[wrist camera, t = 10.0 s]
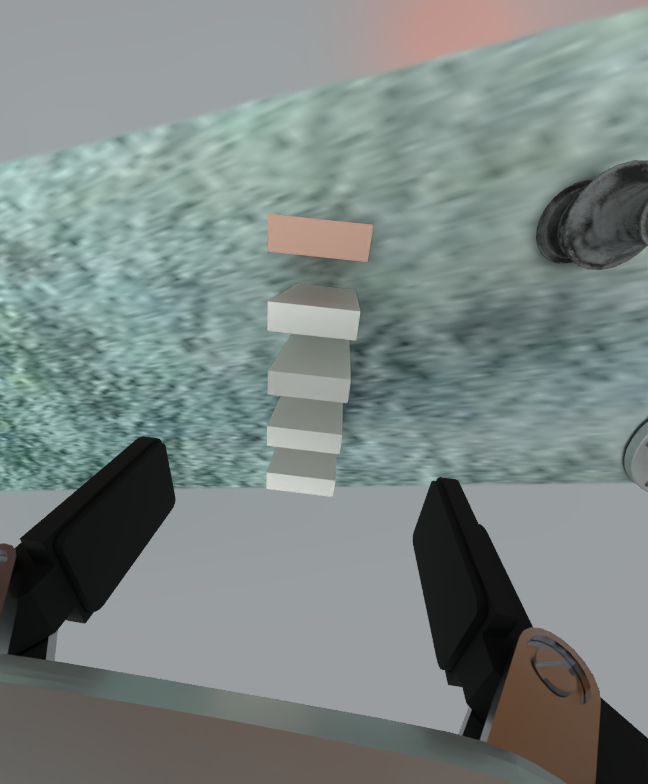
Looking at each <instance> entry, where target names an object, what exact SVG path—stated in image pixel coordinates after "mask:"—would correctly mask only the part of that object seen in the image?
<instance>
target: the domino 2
mask: <svg viewBox="0 0 648 784" xmlns="http://www.w3.org/2000/svg"><path fill="white" fill-rule="evenodd" d="M350 383H351V369H350V344H349V340H345V339H336V338H327V337H318V336H309V335H300V334H292V335H291V337H290V338H289V340H288V341H287V343H286V344H285V346H284V347H283V349H282V350H281V352H280V353H279V355H278V356H277V358H276V359H275V361H274V362H273V364H272V365H271V367H270V368H269V370H268V394H269V395H278V396H287V397H296V398H305V399H314V400H323V401H332V402H341V403H348V397H349V390H350Z"/></svg>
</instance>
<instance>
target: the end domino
mask: <svg viewBox="0 0 648 784" xmlns="http://www.w3.org/2000/svg"><path fill="white" fill-rule="evenodd" d="M372 230H373V225H371V224H361V223H352V222H342V221H332V220H323V219H313V218H303V217H294V216H284V215H274V214H268V252H278V253H287V254H296V255H306V256H315V257H325V258H334V259H343V260H353V261H362V262H368V257H369V250H370V243H371V237H372Z"/></svg>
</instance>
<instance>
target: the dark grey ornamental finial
mask: <svg viewBox="0 0 648 784" xmlns="http://www.w3.org/2000/svg"><path fill="white" fill-rule="evenodd" d="M536 240H537V245H538V248H539V250H540V252H541V254H542V255H543V256H544V257H545V258H547V259H548V260H550V261H552V262H555V263H570V262H574V263H576V264H577V265H578V266H581V267H583V268H586V269H594V270H602V269H607V268H612V267H615V266H617V265H620V264H622V263H624V262H626V261H628V260H630V259H631V258H633V257H634V256H636V255H637V254H638V253H640V252H641V251H642V250H643V249H644V248H645V247H646V246H648V161H637V160H634V161H630V162H626V163H623V164H619V165H617V166H615V167H613V168H611V169H609V170H607V171H605V172H603V173H602V174H601V175H599V176H598V177H597V178H596V179H594V180H587V181H583V182H579V183H575V184H573V185H572V186H570V187H568V188H566V189H564V190H563V191H562V192H561V193H559V194H558V195H557V196H556V197H554V199H553V200H552V201H551V202H550V203H549V205H548V206H547V207H546V209H545V211H544V212H543V214H542V216H541V218H540V221H539V224H538V227H537V236H536Z"/></svg>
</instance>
